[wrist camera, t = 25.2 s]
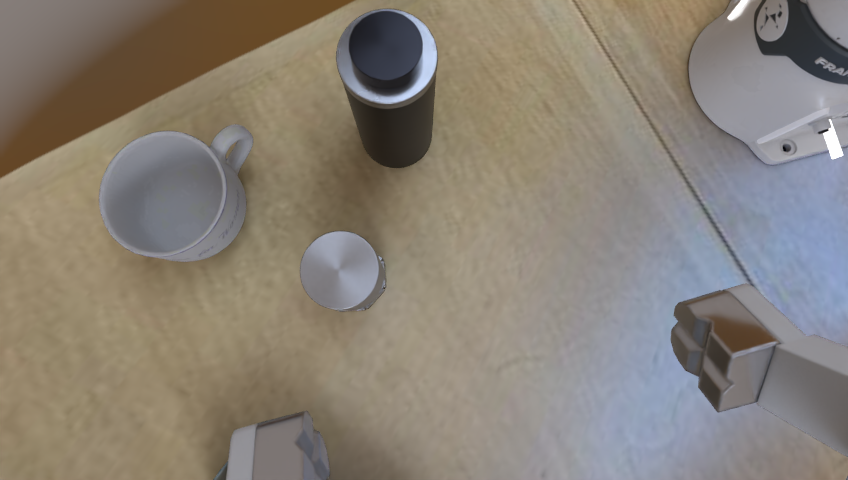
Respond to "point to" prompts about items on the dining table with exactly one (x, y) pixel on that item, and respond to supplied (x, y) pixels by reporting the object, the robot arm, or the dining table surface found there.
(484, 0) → the dining table surface
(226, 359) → the dining table surface
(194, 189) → the teacup
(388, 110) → the thermos
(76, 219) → the dining table surface
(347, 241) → the silver metal cylinder
